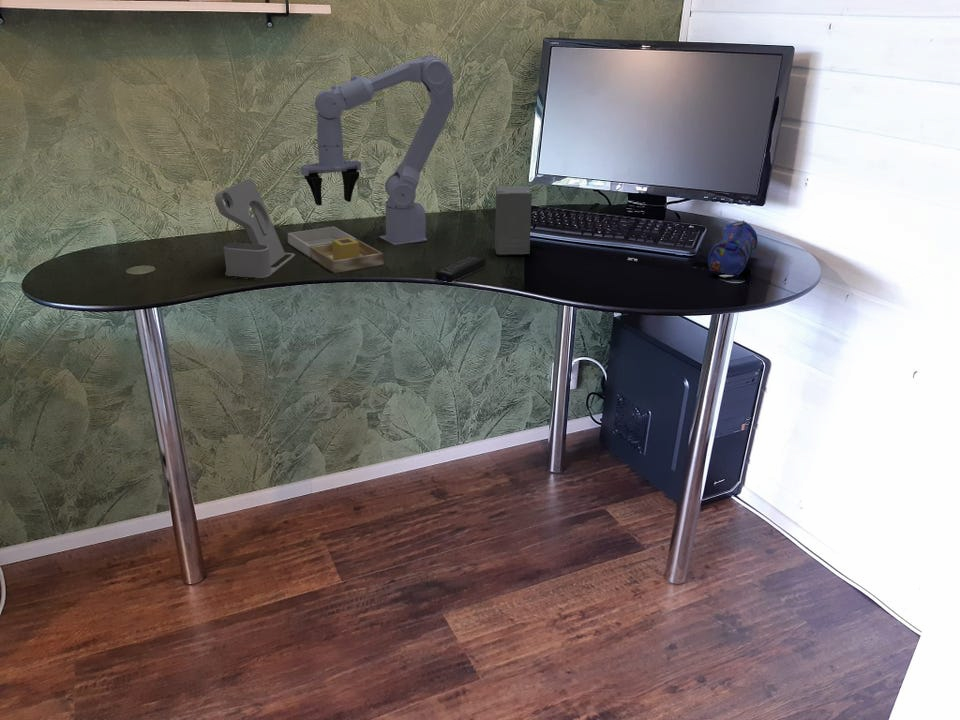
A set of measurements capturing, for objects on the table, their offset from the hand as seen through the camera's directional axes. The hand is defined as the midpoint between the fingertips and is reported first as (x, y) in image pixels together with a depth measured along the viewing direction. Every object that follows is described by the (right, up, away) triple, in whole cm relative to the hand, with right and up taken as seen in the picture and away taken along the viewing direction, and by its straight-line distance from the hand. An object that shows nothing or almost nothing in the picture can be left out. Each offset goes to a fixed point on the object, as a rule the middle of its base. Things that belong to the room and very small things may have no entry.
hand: (333, 202), depth 185 cm
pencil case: (+95, -16, -2) cm, 96 cm away
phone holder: (-14, -17, -13) cm, 25 cm away
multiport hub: (+31, -19, -13) cm, 38 cm away
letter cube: (+5, -15, -9) cm, 18 cm away
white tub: (-3, -11, 0) cm, 11 cm away
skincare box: (+43, -12, +2) cm, 44 cm away
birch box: (+5, -16, -9) cm, 19 cm away
